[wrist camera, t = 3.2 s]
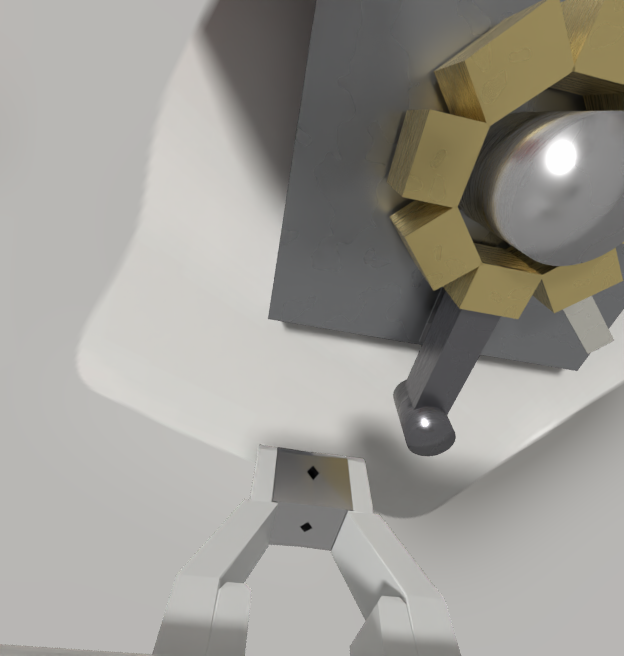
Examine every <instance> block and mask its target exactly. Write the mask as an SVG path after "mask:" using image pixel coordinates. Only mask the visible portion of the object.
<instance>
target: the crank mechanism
mask: <svg viewBox="0 0 624 656" xmlns="http://www.w3.org/2000/svg"><path fill="white" fill-rule="evenodd" d="M540 1H542V0H316V6H315V13H314V19H313V26H312V33H311V39H310V46H309V52H308V59H307V66H306V72H305V79H304V85H303V92H302V99H301V105H300V112H299V118H298V125H297V132H296V138H295V145H294V151H293V158H292V165H291V171H290V178H289V184H288V191H287V198H286V204H285V211H284V217H283V224H282V230H281V237H280V244H279V250H278V257H277V263H276V270H275V277H274V283H273V290H272V296H271V303H270V310H269V316H268V319H272V320H278V321H283V322H289V323H295V324H301V325H307V326H313V327H319V328H325V329H331V330H337V331H343V332H349V333H355V334H361V335H367V336H373V337H379V338H385V339H391V340H396V341H402V342H408V343H414V344H420V345H422V344H423V342H424V340H425V337H426V335H427V333H428V330H429V328H430V326H431V324H432V321H433V319H434V317H435V314H436V312H437V310H438V307H439V305H440V303H441V301H442V298H443V296H444V294H445V291H446V290H445V289H444V288H443V286H442V287H440V288H439V289H437V290H435V291H433V289H432V288H431V286H430V285H429V283H428V282H427V280H426V279H425V278H424V276H423V275H422V273H421V272H420V270H419V269H418V267H417V266H416V264H415V263H414V261H413V259H412V257H411V256H410V254H409V252H408V250H407V248H406V246H405V245H404V243H403V241H402V239H401V237H400V235H399V234H398V232H397V230H396V228H395V226H394V224H393V223H392V221H391V219H390V217H389V216H391V215H393V214H394V213H396V212H397V211H399V210H400V209H402V208H404V207H405V206H407V205H408V204H410V203H412V202H413V201H415V200H414V199H410V198H405V197H402V196H401V195H400V194H399V193H397V192H396V191H395V190H394V189H393V188H392V187H391V186H390V185H389V184H388V183H386V182H387V179H388V175H389V172H390V168H391V165H392V161H393V158H394V154H395V151H396V147H397V144H398V140H399V137H400V133H401V130H402V126H403V123H404V119H405V116H406V112H407V110H426V109H431V110H435V111H439V112H443V113H447V114H450V112H449V109H448V106H447V104H446V101H445V99H444V96H443V94H442V91H441V89H440V86H439V84H438V81H437V79H436V76H435V74H434V71H435V70H436V69H438V68H439V67H440V66H442V65H443V64H444V63H446V62H447V61H448V60H450V59H451V58H453V57H454V56H455V55H457V54H458V53H459V52H461V51H462V50H463V49H465V48H466V47H467V46H469V45H470V44H471V43H473V42H474V41H476V40H477V39H478V38H480V37H481V36H482V35H484V34H485V33H486V32H488V31H489V30H490V29H492V28H493V27H494V26H496V25H497V24H499V23H500V22H501V21H503V20H504V19H505V18H508V17H510V16H512V15H514V14H516V13H518V12H520V11H522V10H524V9H526V8H528V7H530V6H532V5H534V4H536V3H538V2H540ZM563 1H565V0H560V3H561V2H563ZM458 209H459V211H460V213H461V216H462V218H463V220H464V223H465V225H466V227H467V229H468V232H469V234H470V236H471V238H472V241H473V243H477V244H482V245H487V246H492V247H497V248H501V249H507V248H509V247H511V246H513V247H515V248H516V249H518V250H519V251H521V252H522V253H524V254H525V255H527V256H528V257H530V258H531V259H533V260H535V261H537V262H539V263H542V264H546V265H551V266H570V265H576V264H580V263H584V262H587V261H590V260H593V259H595V258H597V257H600V256H602V255H604V254H606V253H607V252H609V251H611V250H613V249H614V248H615V247H616V252H617V256H618V261H619V265H620V269H621V274H622V278H623V281H622V282H620V283H617V284H615V285H613V286H611V287H609V288H607V289H605V290H603V291H600V292H598V293H596V294H594V295H592V296H590V297H588V298H586V299H584V300H581V301H579V302H577V303H575V304H573V305H571V306H569V307H567V308H565V309H562V310H560V311H558V312H556V313H553V312H552V311H551V310H550V309H548V308H547V307H546V306H545V305H544V304H542V303H541V302H540V301H539V300H537V299H536V298H535V297H534V296H533V295H532V296H531V298H530V300H529V302H528V303H527V305H526V307H525V308H524V310H523V312H522V314H521V315H520V317H519V319H514V318H509V317H503V316H501V318H500V319H499V321H498V323H497V325H496V327H495V329H494V330H493V332H492V334H491V336H490V338H489V339H488V341H487V343H486V345H485V347H484V349H483V350H482V352H481V354H480V355H486V356H492V357H498V358H504V359H509V360H515V361H521V362H527V363H533V364H539V365H545V366H551V367H557V368H563V369H569V370H575V371H577V370H578V369H579V368H580V366H581V365H582V364H583V362H584V361H585V360H586V358H587V357H588V356H589V354H590V353H591V352H593V351H595V350H597V349H599V348H601V347H603V346H605V345H606V344H608V343H610V342H612V341H614V339H613V337H612V335H611V333H610V331H609V328H610V326H611V325H612V324H613V322H614V321H615V320H616V318H617V317H618V316H619V314H620V313H621V312H622V310H623V309H624V244H622V243H623V242H624V111H586V109H585V104H584V100H583V96H582V95H578V94H574V93H570V92H567V91H563V90H559V89H555V88H551V87H549V88H547V89H545V90H544V91H542V92H541V93H539V94H538V95H536V96H535V97H533V98H532V99H530V100H529V101H527V102H526V103H524V104H523V105H521V106H520V107H518V108H517V109H515V110H514V111H512V112H511V113H509V114H507V115H506V116H504V117H503V118H501V119H500V120H498V121H497V122H495V123H494V124H492V125H491V126H490V127H489V130H488V132H487V135H486V137H485V140H484V142H483V145H482V147H481V150H480V152H479V155H478V157H477V160H476V162H475V165H474V167H473V170H472V172H471V175H470V177H469V180H468V182H467V185H466V187H465V190H464V192H463V195H462V197H461V200H460V202H459V205H458Z"/></svg>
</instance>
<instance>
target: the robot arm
mask: <svg viewBox="0 0 624 656" xmlns="http://www.w3.org/2000/svg"><path fill="white" fill-rule="evenodd" d="M269 544H271V545H285V546H300V547H307V548H314V549H322V550H330V551H331V554H332V556H333V558H334V560H335V562H336V563H337V566H338V568H339V570H340V572H341V573H342V575H343V577H344V579H345V581H346V583H347V585H348V587H349V589H350V591H351V593H352V595H353V597H354V599H355V601H356V603H357V605H358V607H359V609H360V611H361V612H362V615H363V617H364V618H365V620H366V622H365V623H364V625H363V626H362V628H361V630H360V631H359V633H358V634H357V636H356V638H355V639H354V641H353V642H352V644H351V645H350V656H461V654H460V650H459V647H458V643H457V640H456V636H455V633H454V629H453V626H452V622H451V619H450V615H449V612H448V608H447V605H446V601H445V599H444V598H443V597H442V595H441V594H440V593H439V591H438V590H437V589H436V587H435V586H434V585H433V584H432V582H431V581H430V580H429V578H428V577H427V576H426V574H425V573H424V572H423V570H422V569H421V568H420V566H419V565H418V564H417V563H416V561H415V560H414V559H413V557H412V556H411V555H410V553H409V552H408V551H407V550H406V548H405V547H404V546H403V544H402V543H401V542H400V540H399V539H398V538H397V537H396V535H395V534H394V533H393V531H392V530H391V529H390V527H389V526H388V525H387V523H386V522H385V521H384V520H383V518H382V517H381V516H380V514H374V509H373V504H372V498H371V492H370V486H369V480H368V474H367V468H366V462H365V460H364V459H363V458H356V457H348V456H346V457H345V456H343V455H334V454H326V453H317V452H305V451H299V450H293V449H286V448H280V447H278V448H277V447H272V446H266V445H259V448H258V453H257V459H256V464H255V471H254V476H253V482H252V488H251V494H250V499H244V500H243V501H242V502H241V504H240V505H239V506H238V507H237V508H236V509H235V510H234V511H233V512H232V514H231V515H230V516H229V517H228V518H227V519H226V520H225V521H224V522H223V523H222V525H221V526H220V527H219V528H218V529H217V530H216V531H215V532H214V534H213V535H212V536H211V537H210V538H209V539H208V540H207V541H206V542H205V544H204V545H203V546H202V547H201V548H200V549H199V550H198V551H197V552H196V553H195V555H194V556H193V557H192V558H191V559H190V560H189V561H188V562H187V564H186V565H185V566H184V567H183V568H182V570H180V571H179V572H178V574H177V575H176V578H175V581H174V584H173V587H172V591H171V594H170V597H169V601H168V604H167V607H166V610H165V614H164V617H163V620H162V624H161V627H160V631H159V634H158V637H157V641H156V644H155V647H154V650H153V654H137V653H136V654H135V653H122V652H107V651H92V650H77V649H62V648H47V647H32V646H16V645H2V644H0V656H245V648H246V639H247V630H248V622H249V613H250V604H251V595H252V590H251V589H250V588H249V586H248V585H247V584H246V583H244V582H245V581H246V579H247V577H248V576H249V575H250V573H251V572H252V570H253V569H254V567H255V566H256V564H257V563H258V561H259V560H260V558H261V557H262V555H263V554H264V552H265V550H266V549H267V548H268V545H269Z"/></svg>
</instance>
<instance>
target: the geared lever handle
mask: <svg viewBox="0 0 624 656" xmlns="http://www.w3.org/2000/svg"><path fill="white" fill-rule="evenodd" d="M434 74H435V76H436V79H437V81H438V84H439V86H440V89H441V91H442V94H443V96H444V99H445V101H446V104H447V106H448V109H449V112H450V114H447V113H443V112H439V111H435V110H431V109H426V110H407V112H406V116H405V119H404V123H403V126H402V130H401V133H400V137H399V140H398V144H397V147H396V151H395V154H394V158H393V161H392V165H391V168H390V172H389V175H388V179H387V182H386V183H388V184H389V185H390V186H391V187H392V188H393V189H394V190H395V191H396V192H397V193H399V194H400V195H401V196H402V197H405V198H410V199H414V200H415V201H413V202H412V203H410V204H408V205H407V206H405V207H404V208H402V209H400V210H399V211H397V212H396V213H394V214H393V215H391V216H389V217H390V219H391V221H392V223H393V224H394V226H395V228H396V230H397V232H398V234H399V235H400V237H401V239H402V241H403V243H404V245H405V246H406V248H407V250H408V252H409V254H410V256H411V257H412V259H413V261H414V263H415V264H416V266H417V267H418V269H419V270H420V272H421V273H422V275H423V276H424V278H425V279H426V280H427V282H428V283H429V285H430V286H431V288H432V289H433V291H435V290H437V289H439V288H440V287H442V286H443V288H444V289H445V290H446V291H445V294H444V296H443V298H442V301H441V303H440V305H439V307H438V310H437V312H436V314H435V317H434V319H433V321H432V324H431V326H430V328H429V330H428V333H427V335H426V337H425V340H424V342H423V344H422V346H421V349H420V351H419V353H418V356H417V358H416V360H415V363H414V365H413V367H412V369H411V372H410V374H409V376H408V379H407V380H405V381H403V382H401V383H400V384H399V385H398V386H397V387H396V388H395V390H394V394H393V398H394V401H395V405H396V408H397V412H398V415H399V419H400V422H401V426H402V429H403V433H404V436H405V440H406V443H407V446H408V448H409V450H410V451H412V452H413V453H415V454H417V455H421V456H433V455H438V454H440V453H443V452H445V451H446V450H448V449H449V448H450V447H451V446H452V445H453V443H454V442H455V438H456V436H455V432H454V430H453V428H452V425H451V423H450V421H449V419H448V416H447V414H448V412H449V411H450V409H451V407H452V405H453V403H454V401H455V400H456V398H457V396H458V394H459V392H460V391H461V389H462V387H463V385H464V383H465V381H466V380H467V378H468V376H469V374H470V372H471V370H472V369H473V367H474V365H475V363H476V361H477V360H478V358H479V356H480V354H481V352H482V350H483V349H484V347H485V345H486V343H487V341H488V339H489V338H490V336H491V334H492V332H493V330H494V329H495V327H496V325H497V323H498V321H499V319H500V318H501V316H503V317H509V318H514V319H519V317H520V315H521V314H522V312H523V310H524V308H525V307H526V305H527V303H528V302H529V300H530V298H531V296H532V295H533V296H534V297H535V298H536V299H537V300H539V301H540V302H541V303H542V304H544V305H545V306H546V307H547V308H548V309H550V310H551V311H552V312H553V313H556V312H558V311H560V310H562V309H565V308H567V307H569V306H571V305H573V304H575V303H577V302H579V301H581V300H584V299H586V298H588V297H590V296H592V295H594V294H596V293H598V292H600V291H603V290H605V289H607V288H609V287H611V286H613V285H615V284H617V283H620V282H622V281H623V278H622V274H621V269H620V265H619V261H618V256H617V252H616V247H615V248H614V249H613V250H611V251H609V252H607V253H606V254H604V255H602V256H600V257H597V258H595V259H593V260H590V261H587V262H584V263H580V264H576V265H570V266H551V265H546V264H542V263H539V262H537V261H535V260H533V259H531V258H530V257H528V256H527V255H525V254H524V253H522V252H521V251H519V250H518V249H516V248H515V247H513V246H511V247H509V248H507V249H501V248H497V247H492V246H487V245H482V244H477V243H473V241H472V238H471V236H470V234H469V232H468V229H467V227H466V225H465V223H464V220H463V218H462V216H461V213H460V211H459V209H458V205H459V202H460V200H461V197H462V195H463V192H464V190H465V187H466V185H467V182H468V180H469V177H470V175H471V172H472V170H473V167H474V165H475V162H476V160H477V157H478V155H479V152H480V150H481V147H482V145H483V142H484V140H485V137H486V135H487V132H488V130H489V127H490V126H491V125H492V124H494V123H495V122H497V121H498V120H500V119H501V118H503V117H504V116H506V115H507V114H509V113H511V112H512V111H514V110H515V109H517V108H518V107H520V106H521V105H523V104H524V103H526V102H527V101H529V100H530V99H532V98H533V97H535V96H536V95H538V94H539V93H541V92H542V91H544V90H545V89H547V88H549V87H551V88H555V89H559V90H563V91H567V92H570V93H574V94H578V95H582V96H583V100H584V104H585V109H586V111H624V0H565V1H563V2H561V3H560V0H542V1H540V2H538V3H536V4H534V5H532V6H530V7H528V8H526V9H524V10H522V11H520V12H518V13H516V14H514V15H512V16H510V17H508V18H505V19H504V20H503V21H501V22H500V23H499V24H497V25H496V26H494V27H493V28H492V29H490V30H489V31H488V32H486V33H485V34H484V35H482V36H481V37H480V38H478V39H477V40H476V41H474V42H473V43H471V44H470V45H469V46H467V47H466V48H465V49H463V50H462V51H461V52H459V53H458V54H457V55H455V56H454V57H453V58H451V59H450V60H448V61H447V62H446V63H444V64H443V65H442V66H440V67H439V68H438V69H436V70H435V71H434ZM622 244H624V242H623V243H622Z"/></svg>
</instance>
